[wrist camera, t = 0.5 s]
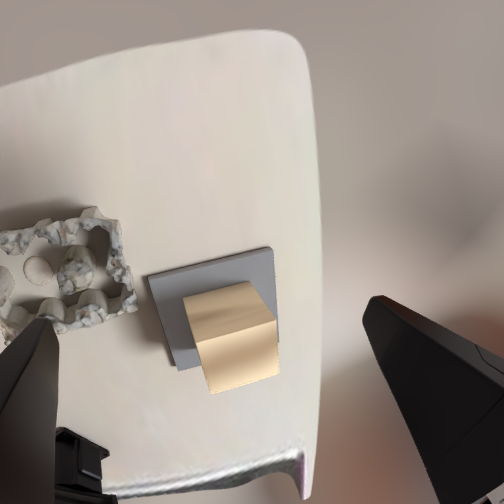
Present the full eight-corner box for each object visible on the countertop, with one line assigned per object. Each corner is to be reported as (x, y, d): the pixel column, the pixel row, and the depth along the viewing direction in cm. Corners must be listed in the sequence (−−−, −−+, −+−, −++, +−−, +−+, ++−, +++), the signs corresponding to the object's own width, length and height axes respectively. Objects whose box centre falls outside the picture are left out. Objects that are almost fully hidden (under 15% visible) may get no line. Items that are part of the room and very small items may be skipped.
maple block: (255, 332, 26) (279, 373, 21) (196, 348, 24) (211, 394, 20) (249, 280, 23) (276, 320, 19) (182, 297, 22) (195, 343, 18)
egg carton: (15, 316, 19) (1, 350, 16) (-17, 225, 16) (-42, 249, 12) (140, 298, 22) (142, 333, 19) (122, 197, 19) (118, 217, 15)
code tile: (276, 338, 28) (279, 342, 27) (177, 366, 25) (178, 371, 25) (270, 246, 24) (273, 250, 23) (147, 276, 21) (148, 280, 21)
